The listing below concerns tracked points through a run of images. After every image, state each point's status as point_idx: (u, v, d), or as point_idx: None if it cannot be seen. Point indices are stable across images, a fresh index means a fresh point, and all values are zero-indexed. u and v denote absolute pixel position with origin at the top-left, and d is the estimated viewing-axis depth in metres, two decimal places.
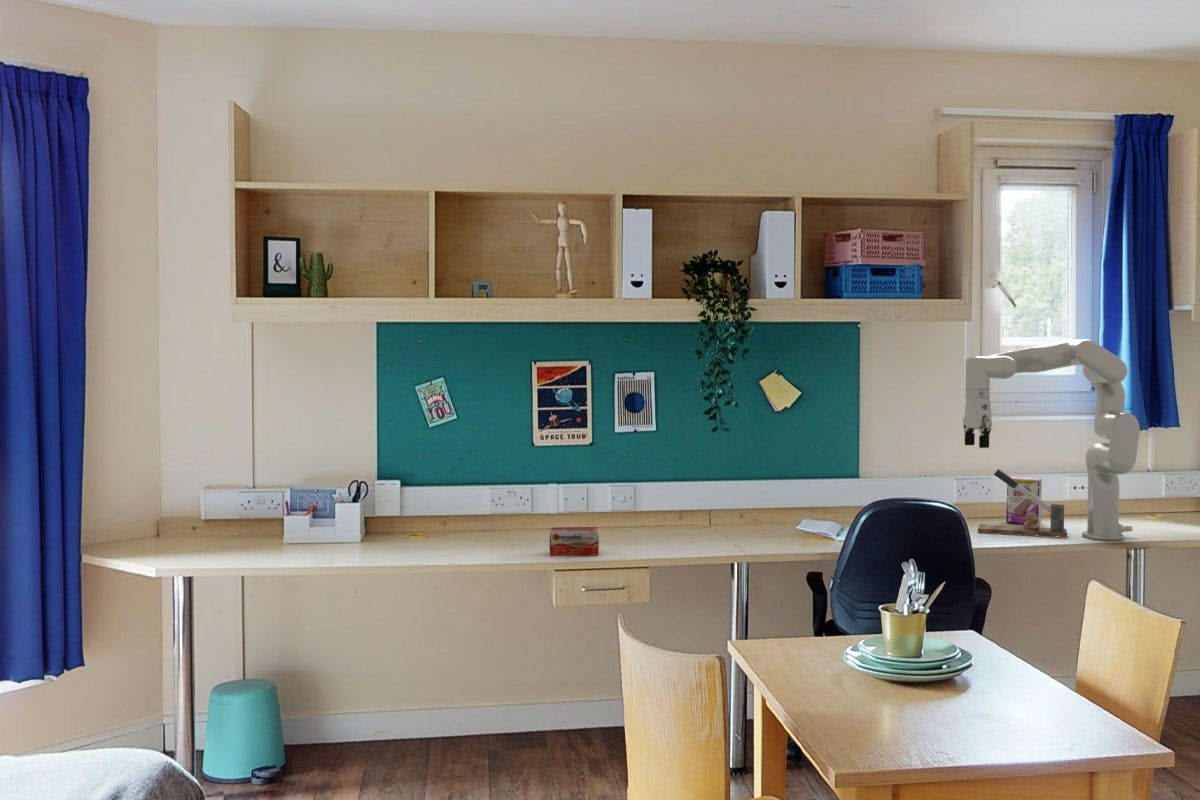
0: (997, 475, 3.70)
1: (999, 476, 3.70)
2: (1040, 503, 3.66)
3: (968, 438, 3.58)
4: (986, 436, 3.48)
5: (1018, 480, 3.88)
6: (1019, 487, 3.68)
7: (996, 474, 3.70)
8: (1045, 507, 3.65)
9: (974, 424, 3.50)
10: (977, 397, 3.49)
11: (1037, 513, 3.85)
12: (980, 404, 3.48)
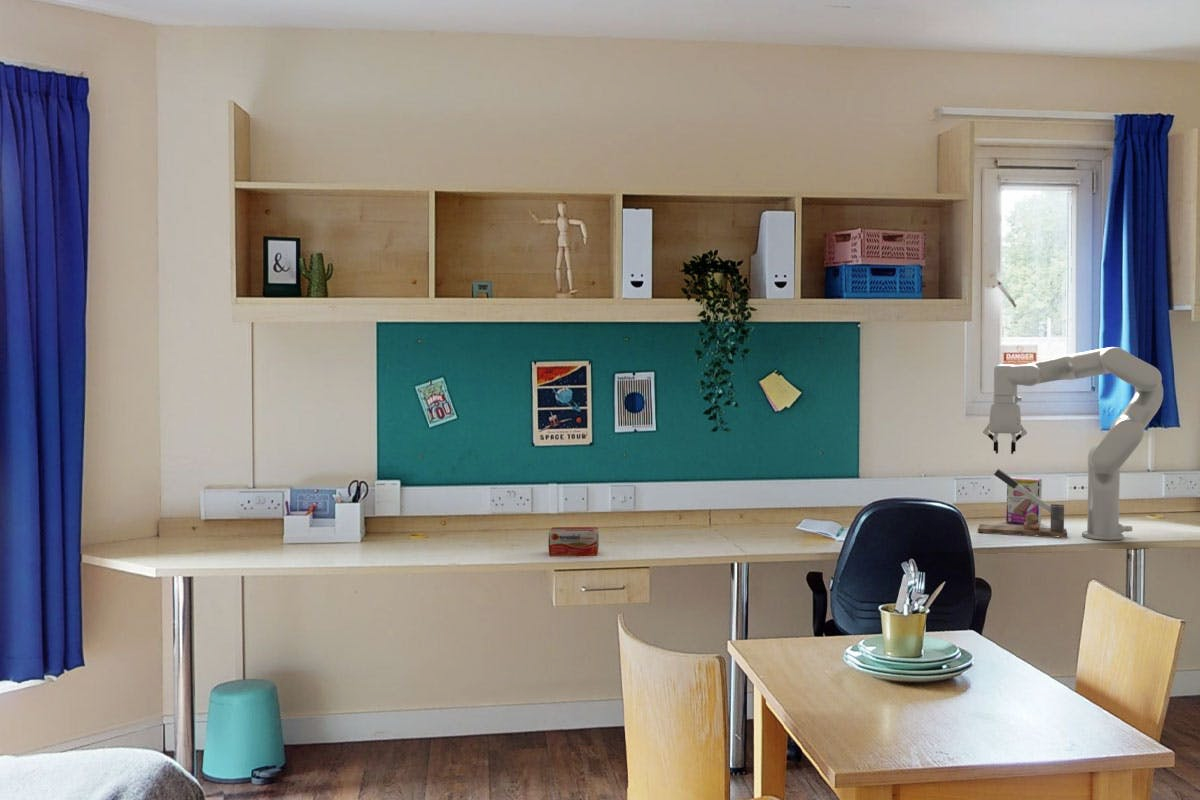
0: (997, 475, 3.70)
1: (999, 476, 3.70)
2: (1040, 503, 3.66)
3: (997, 446, 3.71)
4: (1015, 443, 3.70)
5: (1018, 480, 3.88)
6: (1019, 487, 3.68)
7: (996, 474, 3.70)
8: (1045, 507, 3.65)
9: (1012, 429, 3.67)
10: (1015, 403, 3.67)
11: (1037, 513, 3.85)
12: (1019, 409, 3.67)
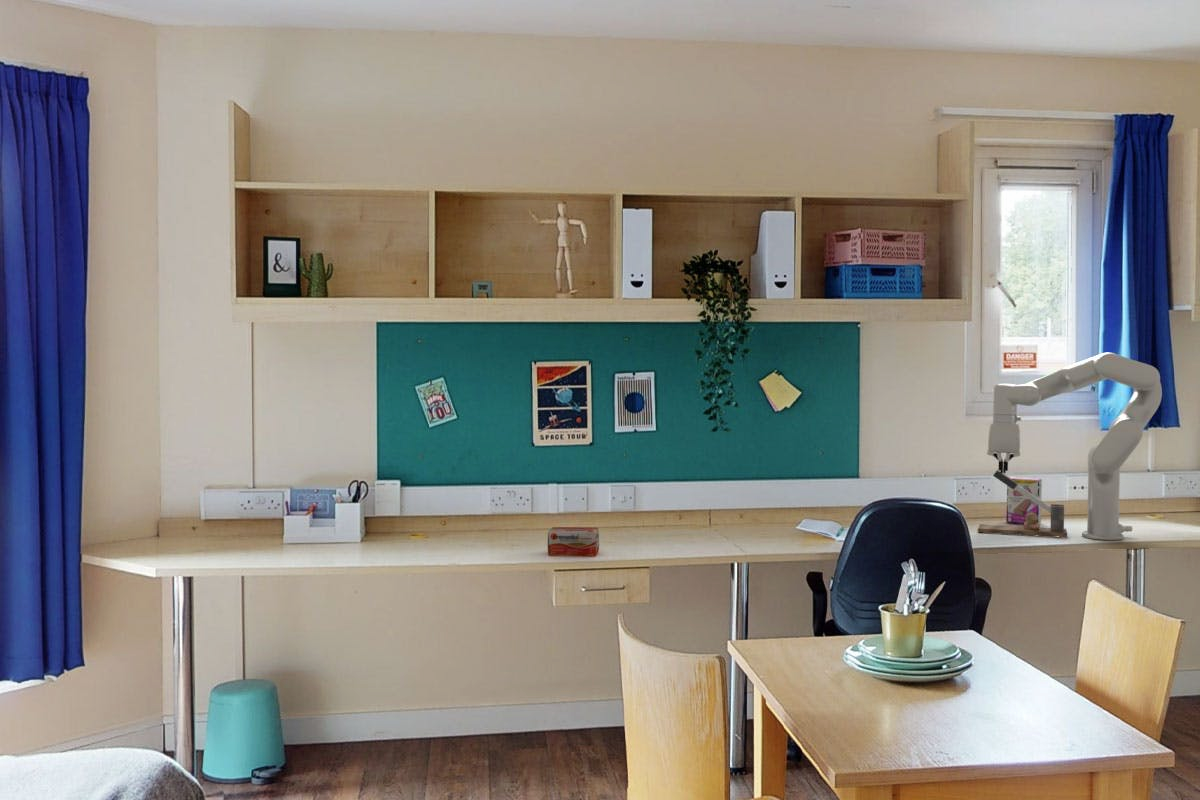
0: (996, 476, 3.70)
1: (998, 477, 3.70)
2: (1040, 503, 3.66)
3: None
4: None
5: (1018, 480, 3.88)
6: (1018, 488, 3.68)
7: (995, 475, 3.70)
8: (1045, 507, 3.65)
9: (1011, 448, 3.68)
10: (1014, 422, 3.67)
11: (1037, 513, 3.85)
12: (1018, 429, 3.68)
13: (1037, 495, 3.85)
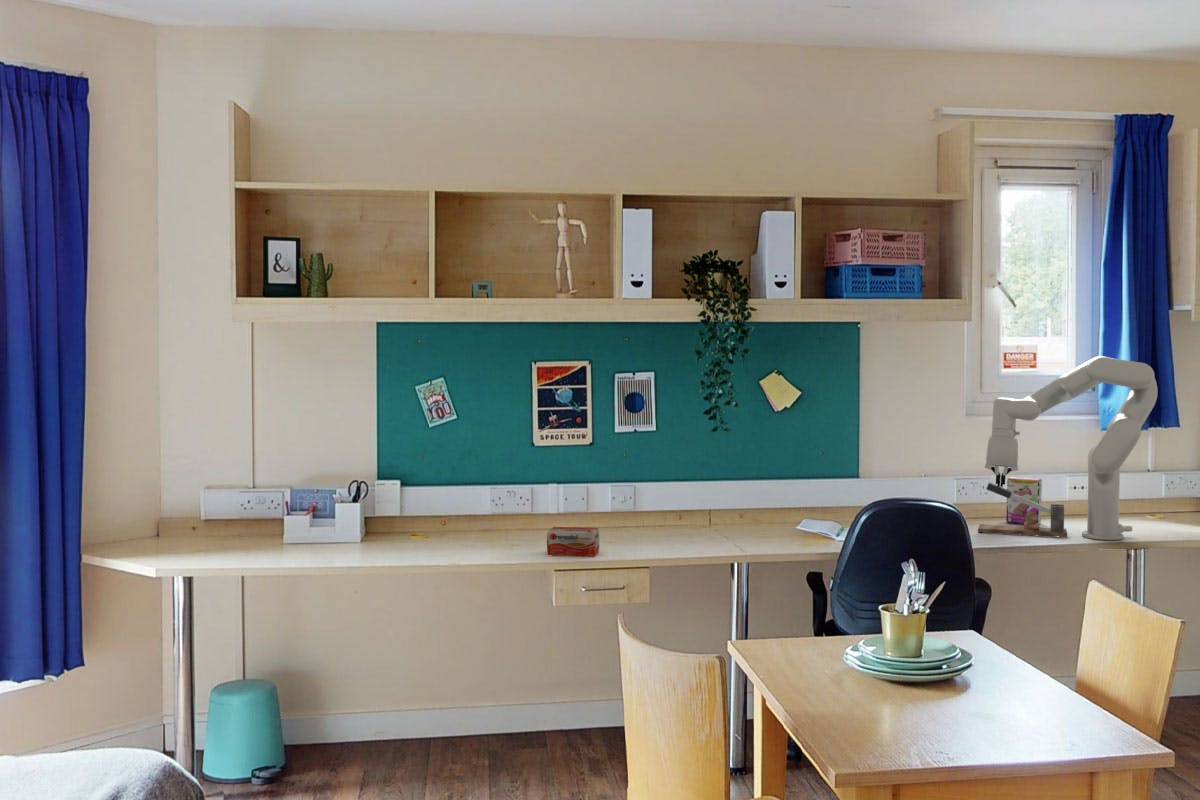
0: (989, 489, 3.71)
1: (991, 489, 3.71)
2: (1038, 507, 3.66)
3: None
4: (1005, 476, 3.71)
5: (1018, 480, 3.88)
6: (1013, 496, 3.69)
7: (988, 488, 3.71)
8: (1044, 510, 3.66)
9: (1009, 462, 3.68)
10: (1013, 437, 3.68)
11: (1037, 513, 3.85)
12: (1016, 443, 3.68)
13: (1037, 495, 3.85)
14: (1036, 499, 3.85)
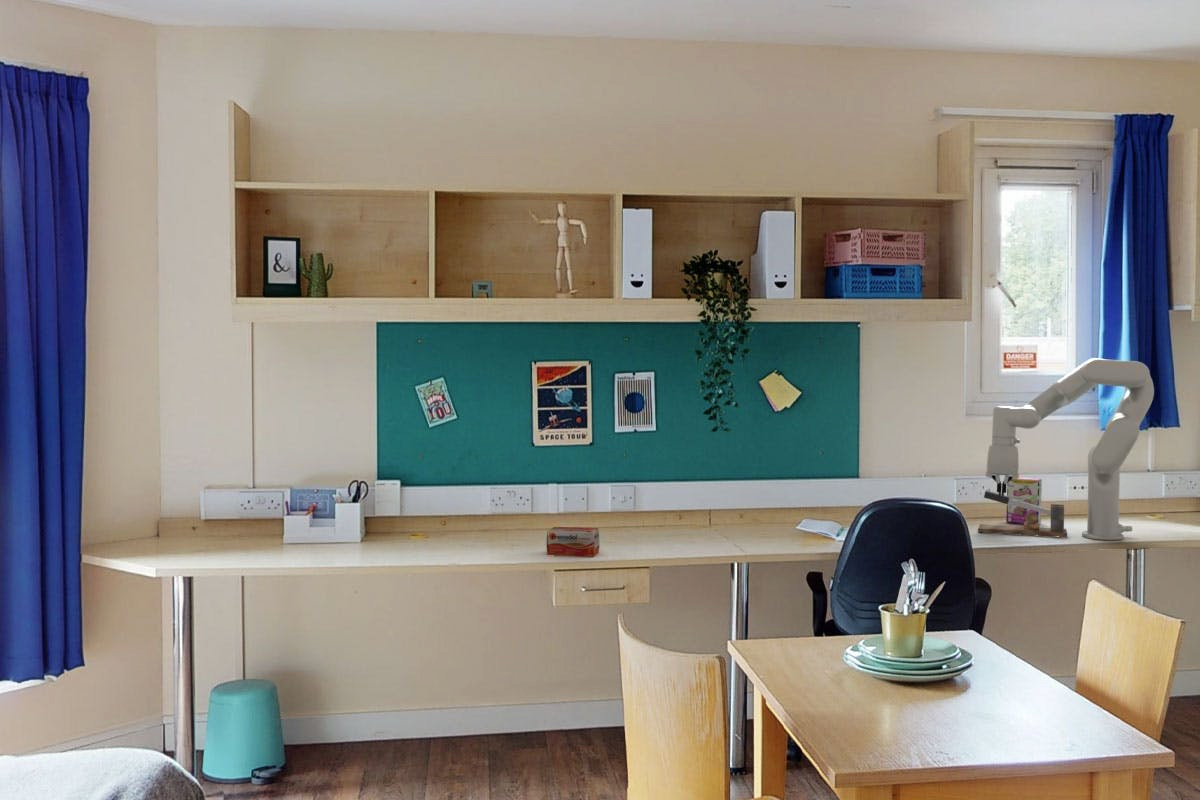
0: (987, 497, 3.72)
1: (989, 497, 3.72)
2: (1037, 509, 3.66)
3: None
4: (1006, 484, 3.71)
5: (1018, 480, 3.88)
6: (1011, 501, 3.69)
7: (985, 496, 3.72)
8: (1043, 511, 3.66)
9: (1010, 470, 3.68)
10: (1013, 445, 3.68)
11: (1037, 513, 3.85)
12: (1017, 451, 3.68)
13: (1037, 495, 3.85)
14: (1036, 499, 3.85)
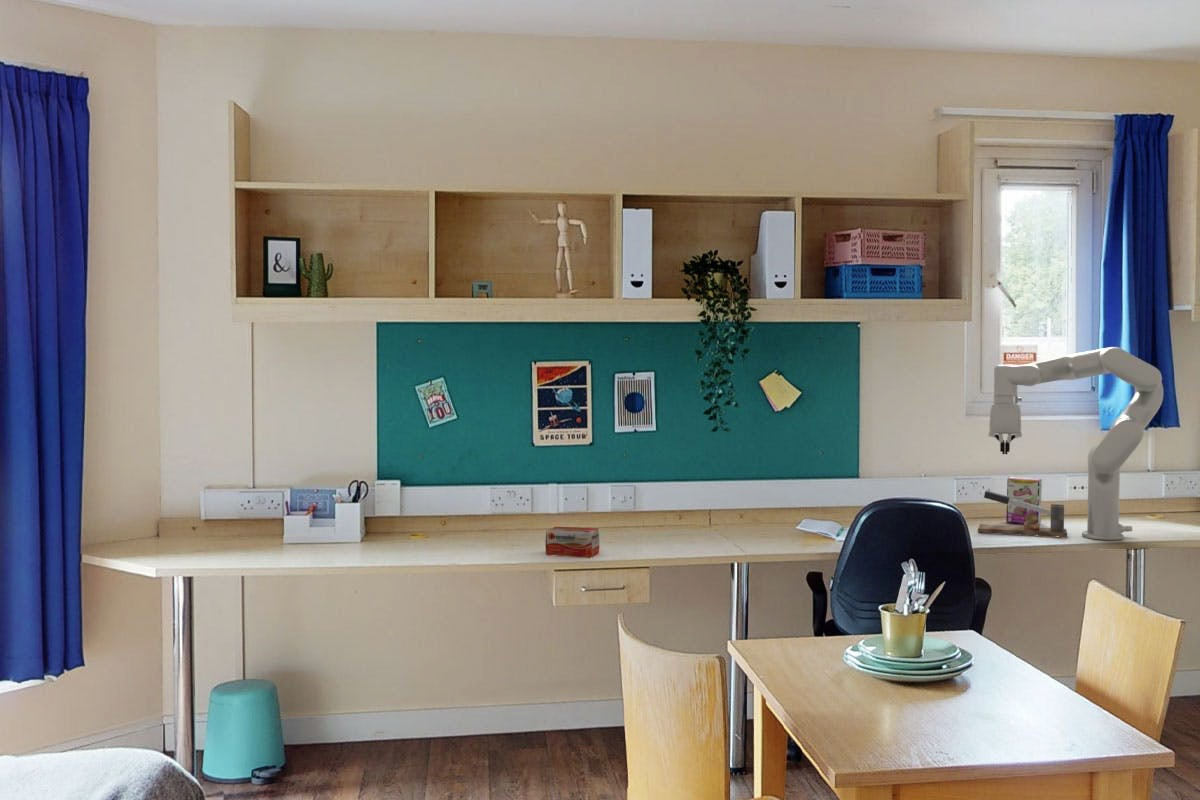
0: (987, 497, 3.72)
1: (989, 497, 3.72)
2: (1037, 509, 3.66)
3: None
4: (1009, 443, 3.70)
5: (1018, 480, 3.88)
6: (1011, 501, 3.69)
7: (985, 496, 3.72)
8: (1043, 511, 3.66)
9: (1012, 429, 3.67)
10: (1015, 403, 3.67)
11: (1037, 513, 3.85)
12: (1019, 410, 3.67)
13: (1037, 495, 3.85)
14: (1036, 499, 3.85)
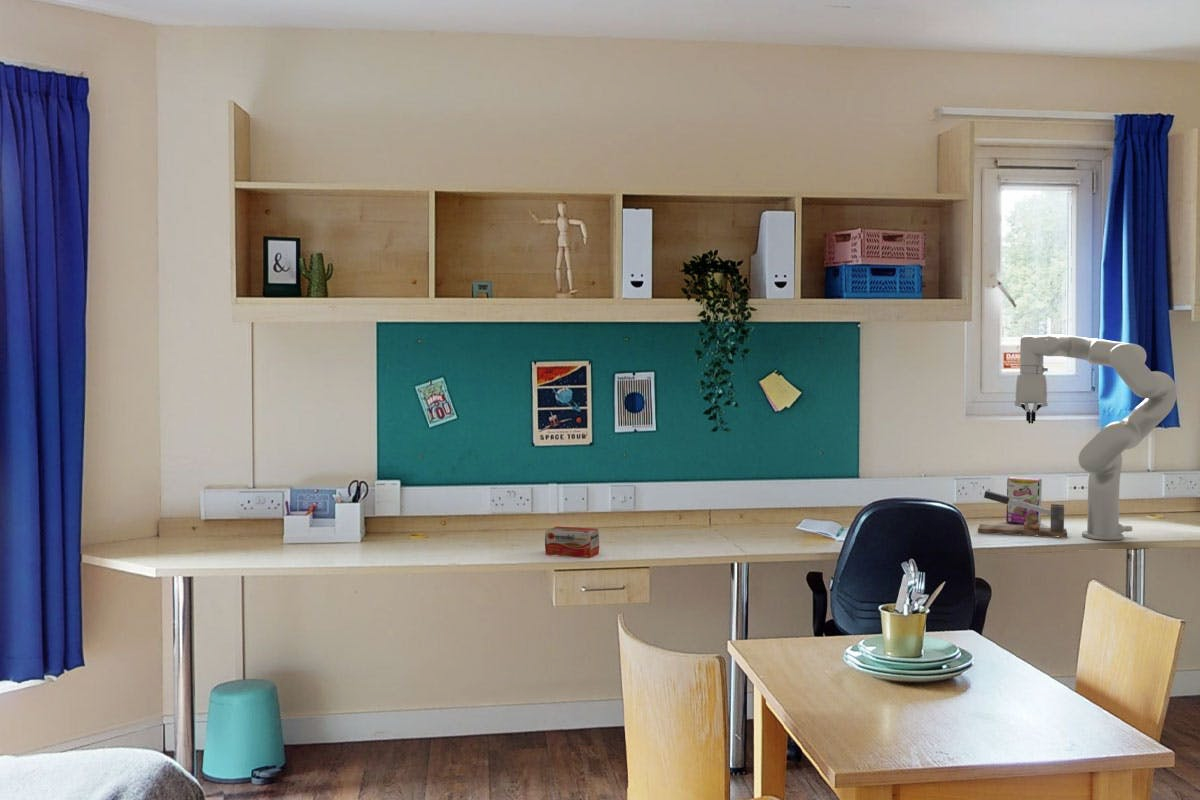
0: (987, 497, 3.72)
1: (989, 497, 3.72)
2: (1037, 509, 3.66)
3: None
4: (1035, 412, 3.76)
5: (1018, 480, 3.88)
6: (1011, 501, 3.69)
7: (985, 496, 3.72)
8: (1043, 511, 3.66)
9: (1039, 398, 3.74)
10: (1041, 373, 3.73)
11: (1037, 513, 3.85)
12: (1045, 379, 3.73)
13: (1037, 495, 3.85)
14: (1036, 499, 3.85)
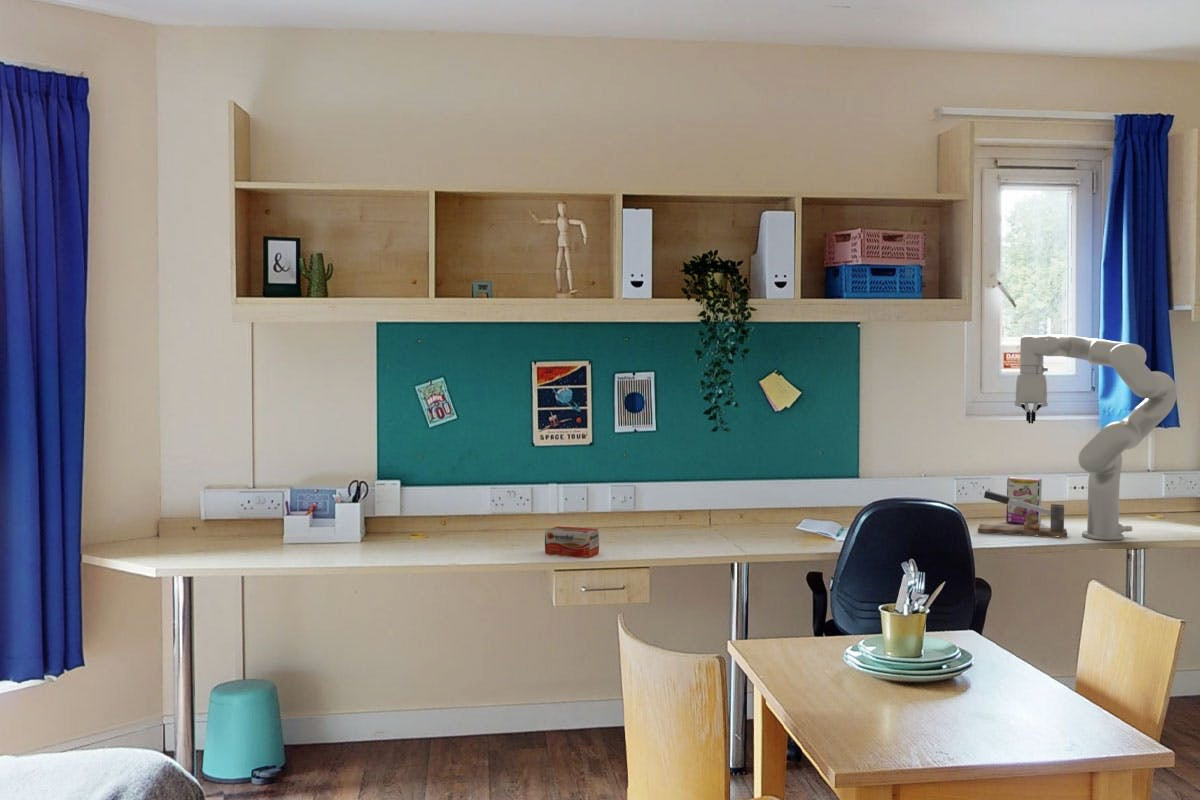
0: (987, 497, 3.72)
1: (989, 497, 3.72)
2: (1037, 509, 3.66)
3: None
4: (1035, 412, 3.76)
5: (1018, 480, 3.88)
6: (1011, 501, 3.69)
7: (985, 496, 3.72)
8: (1043, 511, 3.66)
9: (1039, 398, 3.74)
10: (1041, 373, 3.73)
11: (1037, 513, 3.85)
12: (1045, 379, 3.73)
13: (1037, 495, 3.85)
14: (1036, 499, 3.85)
